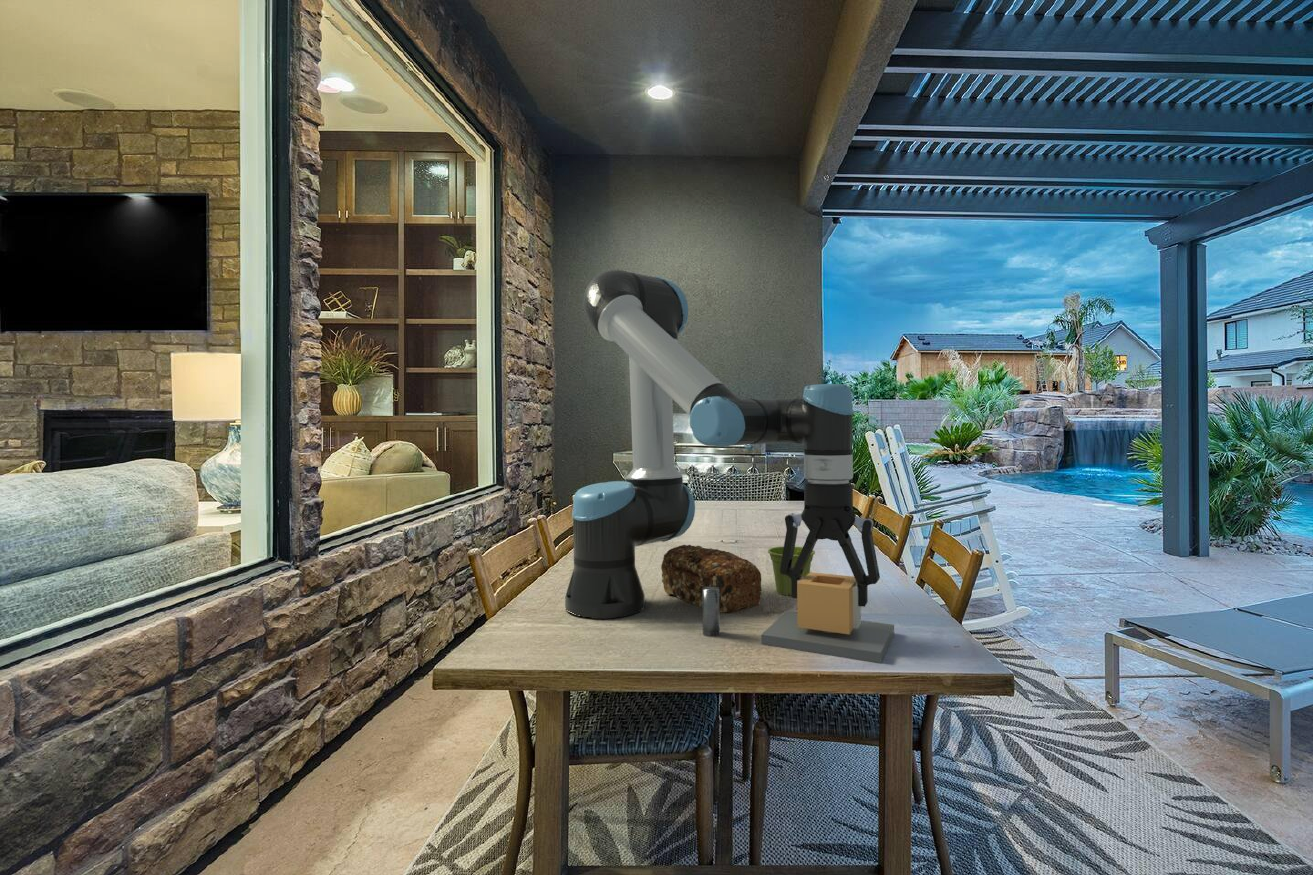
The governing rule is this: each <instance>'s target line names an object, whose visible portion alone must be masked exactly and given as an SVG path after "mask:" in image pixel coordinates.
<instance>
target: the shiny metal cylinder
mask: <svg viewBox="0 0 1313 875" xmlns="http://www.w3.org/2000/svg"><path fill="white" fill-rule="evenodd" d="M702 606H703V607H702V635H703V636H706V637H718V636H719V635H721V634H720V633H721V631H720V630H721V629H720V628H721V626H720V625H721V624H720V620H721V619H720V613H721V612H720V611H719V588H718V587H704V588H702Z"/></svg>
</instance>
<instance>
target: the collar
mask: <svg viewBox="0 0 1313 875" xmlns="http://www.w3.org/2000/svg"><path fill="white" fill-rule="evenodd" d="M855 583H857V582H856V579H855V577H854V575H853V576H850V575H842V574H841V575H840V574H832V573H831V574H830V573H821V572H814V571H813V572H812V571H810V573H809V574H807V575H806V576H805V577H804V578H803V579H802V580H800V581H799V582H798V583H797V599H796V600H797V605H796V606H797V611H796V612H797V617H798V627H800V628H807V629H814V630H821V631H828V632H835V633H842V634H850V633H851V631H852V630H853V586H854V584H855Z"/></svg>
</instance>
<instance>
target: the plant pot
mask: <svg viewBox="0 0 1313 875" xmlns="http://www.w3.org/2000/svg"><path fill="white" fill-rule="evenodd" d="M802 548H803V546H795V549H794V555H793V560H792V566H791V567H793V568H794V566H795V564H796V562H797V559H798V557H799V555H800V553H801V550H802ZM783 549H784V545H783V546H775V547H770V548H769V549H767V553H768V554H769V556H770V560H771V561H772V563H771V564H772V569H773V570H772V571H773V576H774V581H775V588H776V590H775V591H776V593H777V594H780V595H782V596H787V595H791V596H792V590H791V578H790V577H789V576H787V575H785V574H781V573H780V566H781V560H782V554H783ZM814 555H816V551H815V550H814V549H813V550H812V552H811V555H810V557H809V559H808V561H807V563H806V566H805V568H804V570H803V572H802V573H803V574H802V575H801V577H805V576H806V575H807V574H809V573H810V572H811V566H812V561H813V558H814Z"/></svg>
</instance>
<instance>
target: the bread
mask: <svg viewBox="0 0 1313 875" xmlns="http://www.w3.org/2000/svg"><path fill="white" fill-rule="evenodd" d="M660 567H661V568H660V569H661V572H662V573H661V577H662V579H661V583H662V584H663V589H664V592H665V593H666V594H667V596H672V595H673V596H675V597H676V598H678V599H680V600H682V601H686V602H688V603H690V604H693V605H696V606H699V607H701V608H703V606H702V588H704V587H718V588H719V612H720V613H730V612H732V613H733V612H738V611H740V609H742V608H746V609H747V608H752V607H754V606H755V607H756V606H758V605H759V604H760V601H761V596H762V580H763V579H762V574H761V571H760V569H759V568H757V566H756V564H753V563H752V562H751V561H749V560H748V559H745V558H742V557H740V556H738V555H736V554H734V553H732V552H730V551H726V550H720V549H718V548H717V549H716V548H715V549H714V548H712V547H711V548H710V547H709V548H708V547H702V546H700V545H696V546H695V545H691V544H688V545H687V544H682V545H678V546H675V547H673V548H670V549H669V550H667V552H666V553H664V554H663V560H662V562H661V565H660Z"/></svg>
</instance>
